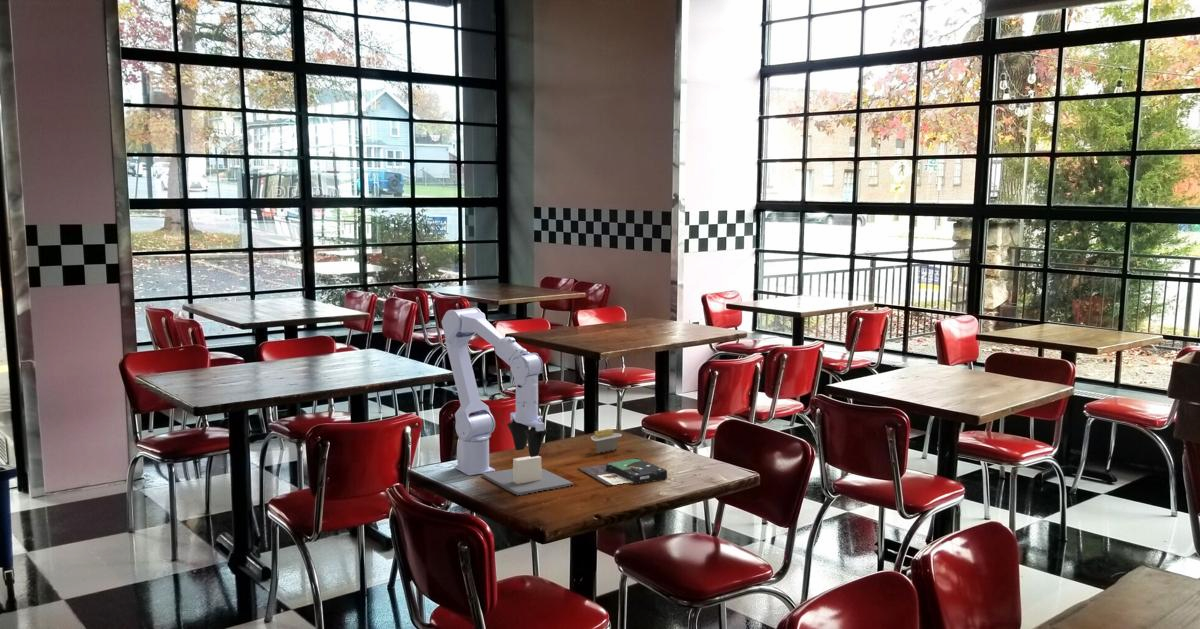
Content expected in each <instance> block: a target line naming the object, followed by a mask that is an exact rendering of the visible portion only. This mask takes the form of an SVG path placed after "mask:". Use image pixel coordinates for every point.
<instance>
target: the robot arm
mask: <svg viewBox="0 0 1200 629" xmlns="http://www.w3.org/2000/svg"><path fill="white" fill-rule="evenodd" d="M444 313H445V314H444V315H443V317H442V320H441V321H440V322H441V326H442V330H443V335H444V338H445V347H446V352H447V355H448V359H449V362H450V366H451V371H452V375H453V379H454V380H453V381H454V383H455V387H456V392H457V396H458V399H459V400H458V401H459V404H460V406H459V408H458V409H457V410H456V412H455V414H454V418H455V425H454V426H455V431H456V434H457V436H458V437H459V439H458V442H457V445H456V446H457V447H456V454H457V455H456V457H457V459H456V460H457V465H454V469H456V470H458V471H459V472H461V473H463V474H465V475H467V476H475V475H481V474H483V473H489V472H495V471H496V469H495V468H493V467H491V466H490V438H491V437H492V433H493V432H494V431H495V428H496V420H495V418H494V416H493V414H492V413H491V410H490V407H489V405H487V404H486V403H485V402H483V401H482V400H481V396H480V393H479V388H478V385H477V381H476V378H475V373H474V369H473V365H472V361H471V357H470V353H469V349H468V343H469V342H470V340H471V339H472V338H473V337H474V336H476V335H478V336H479V337H480V338H481V339H484V340H485V341H486V343H489V344H490V345H491V346H493V347H494V353H495V355H496V356H498V357H499V358H500V359H501V360H502V361H504V362H505V364H507V365H508V366H509V367H510V371H511V374H512V376H513V382H514V384H515V412H511V413H510V414H509V415H510V417H509V418H510V421H511V422H508V423H507V424H506V425H507V427H508V429H509V431H510V433H511V436H512V440H513V444H514V448H515V450H516V451H521V450H525V446H526V440H527V445H528V453H529V456H530V457H535V456H539V454H540V450H541V446H542V443H543V440H544V438H545V436H546V435H547V433H548V430H547V429H546V428H545V423H544V422H542V418H543V417H542V416H541V415H539V375H540V374H541V373H542V371H543V367H544V364H543V363H544V362H543V360H542V357H541V356H539V353H537V352H530V351H528V350H527V349H526V348H524V347H523V346H521V345H520V344H519V343H518V342H516V339H515V338H514V337H513V336H505V337H504V336H503V335H502V333H500V332H499V331H498V330H497V328H495V326H493V325H492V323H490V322H489V321H488V319H486V314H485V313H484V312H482V311H481V309H480V308H478V307H475V306H474V307H470V308H469V307H468V308H462V309H449V310H446V312H444ZM528 428H530V429H528Z"/></svg>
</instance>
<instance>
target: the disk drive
mask: <svg viewBox="0 0 1200 629" xmlns="http://www.w3.org/2000/svg"><path fill="white" fill-rule="evenodd" d="M606 464H607V465H606V470H609V471H611V472H613V473H615V474H617V475H620V476H622V477H624V478H626V479H628V480H630V481H633V482H634V483H639V482H645V481H651V482H654V481H653V480H657V481H661V480H666V479H668V470H666V469H665V468H663V467H660V466H658V465H654V464H652V463H650V462H648V461H645V460H643V459H640V458H638V457H635V458H628V459H621V460H618V461H612V462H607V463H606ZM634 483H633V484H634ZM645 483H646V482H645ZM639 484H640V483H639Z"/></svg>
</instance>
